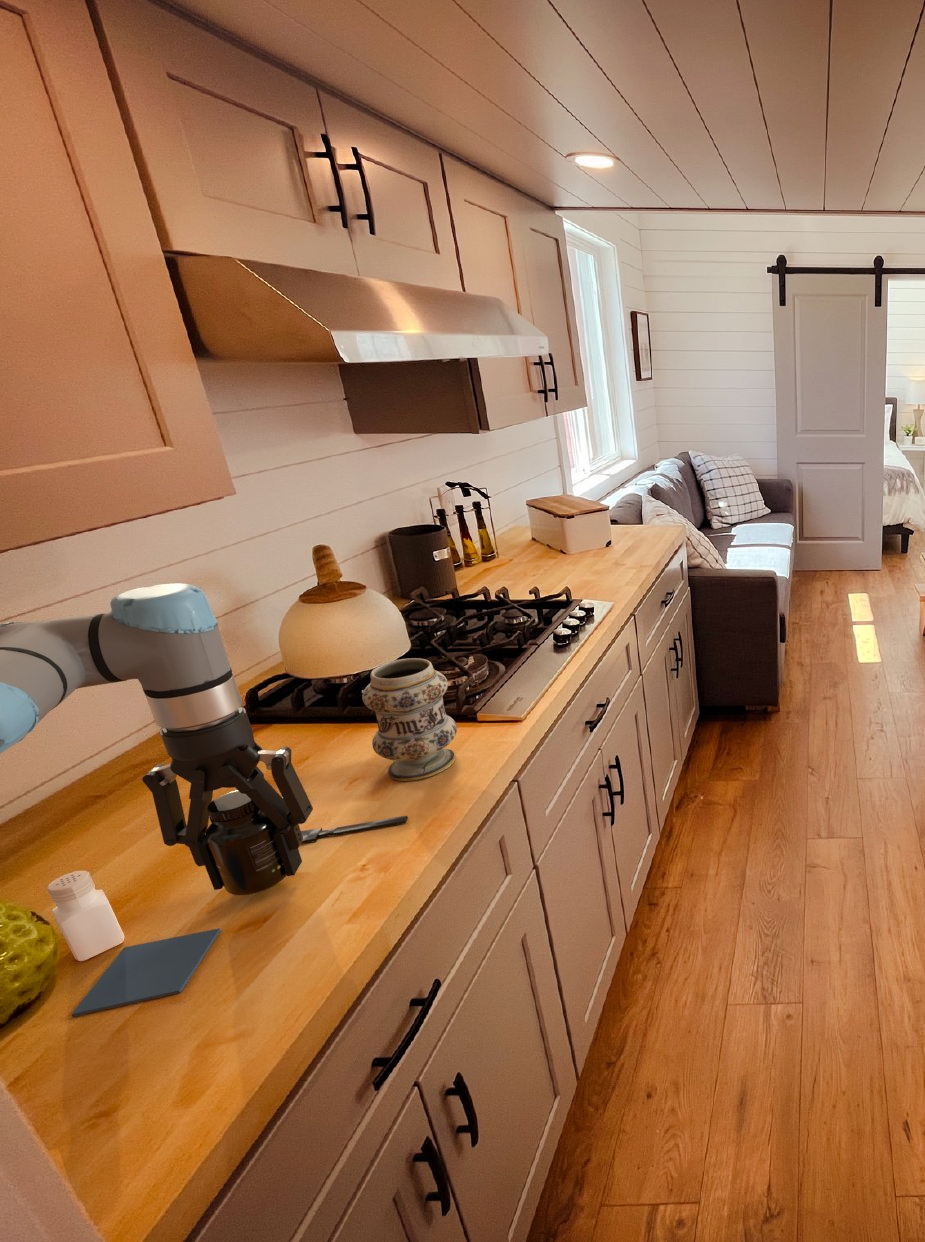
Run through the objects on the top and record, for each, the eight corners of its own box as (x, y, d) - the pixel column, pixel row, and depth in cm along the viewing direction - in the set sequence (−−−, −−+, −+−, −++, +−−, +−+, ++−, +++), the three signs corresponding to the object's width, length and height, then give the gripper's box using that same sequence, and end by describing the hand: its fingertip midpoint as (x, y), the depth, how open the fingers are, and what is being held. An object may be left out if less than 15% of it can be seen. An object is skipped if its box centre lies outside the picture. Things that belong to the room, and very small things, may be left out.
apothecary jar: (479, 751, 118) (460, 657, 112) (423, 790, 107) (399, 689, 101) (421, 741, 121) (400, 649, 115) (362, 779, 110) (335, 679, 104)
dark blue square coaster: (72, 1017, 70) (70, 1014, 70) (125, 949, 78) (124, 947, 78) (180, 993, 73) (179, 990, 72) (220, 930, 81) (219, 928, 80)
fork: (265, 850, 94) (264, 847, 94) (272, 838, 96) (271, 835, 96) (404, 826, 99) (404, 823, 99) (408, 815, 101) (408, 812, 101)
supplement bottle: (210, 894, 84) (178, 814, 79) (261, 857, 90) (234, 781, 86) (259, 901, 83) (229, 819, 79) (307, 862, 89) (282, 785, 85)
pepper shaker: (119, 926, 81) (89, 862, 78) (127, 942, 79) (97, 877, 75) (70, 948, 78) (38, 883, 75) (78, 965, 76) (44, 898, 72)
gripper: (315, 690, 85) (358, 840, 93) (113, 714, 78) (178, 872, 86) (291, 718, 78) (340, 877, 86) (69, 746, 72) (144, 915, 80)
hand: (259, 875), depth 86 cm, fingers closed on supplement bottle, 7 cm apart
